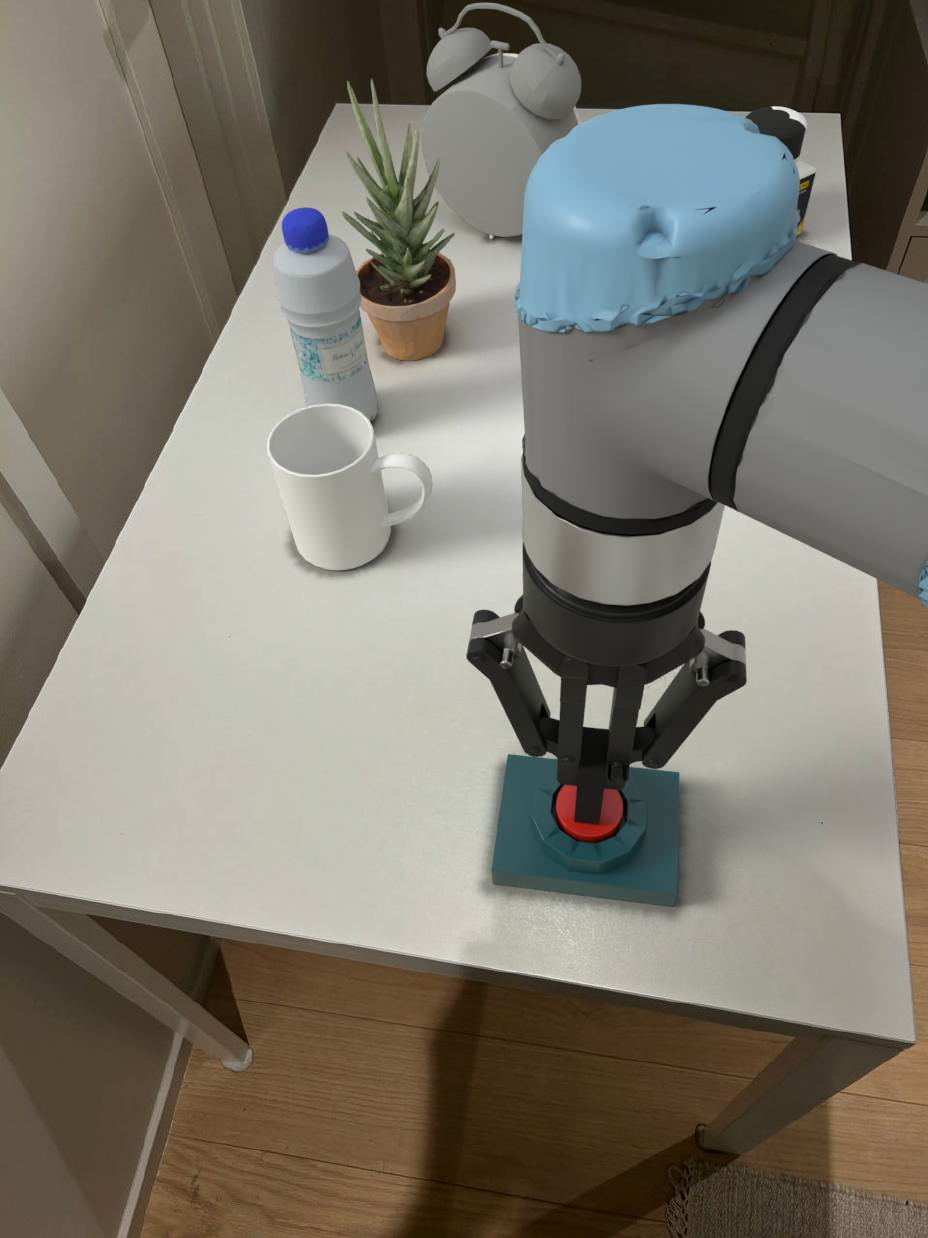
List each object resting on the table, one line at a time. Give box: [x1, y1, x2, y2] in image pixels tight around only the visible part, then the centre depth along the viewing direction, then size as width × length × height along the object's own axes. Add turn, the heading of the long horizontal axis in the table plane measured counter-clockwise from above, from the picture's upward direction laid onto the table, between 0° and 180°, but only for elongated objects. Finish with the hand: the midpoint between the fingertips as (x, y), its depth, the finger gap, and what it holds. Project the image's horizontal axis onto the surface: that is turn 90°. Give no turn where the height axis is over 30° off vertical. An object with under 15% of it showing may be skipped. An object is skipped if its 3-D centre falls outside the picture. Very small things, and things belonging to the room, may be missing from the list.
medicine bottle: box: [744, 105, 817, 237], centre depth 94 cm, size 7×7×12 cm
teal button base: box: [491, 753, 680, 908], centre depth 58 cm, size 11×8×4 cm
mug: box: [266, 404, 433, 571], centre depth 71 cm, size 12×8×10 cm, turn 74°
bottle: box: [272, 207, 378, 422], centre depth 77 cm, size 7×7×20 cm
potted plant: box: [341, 78, 457, 362], centre depth 81 cm, size 10×10×25 cm
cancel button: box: [556, 785, 623, 844], centre depth 56 cm, size 4×4×2 cm
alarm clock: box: [420, 2, 582, 240], centre depth 94 cm, size 16×9×22 cm, turn 56°
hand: (588, 802), depth 56 cm, fingers closed
